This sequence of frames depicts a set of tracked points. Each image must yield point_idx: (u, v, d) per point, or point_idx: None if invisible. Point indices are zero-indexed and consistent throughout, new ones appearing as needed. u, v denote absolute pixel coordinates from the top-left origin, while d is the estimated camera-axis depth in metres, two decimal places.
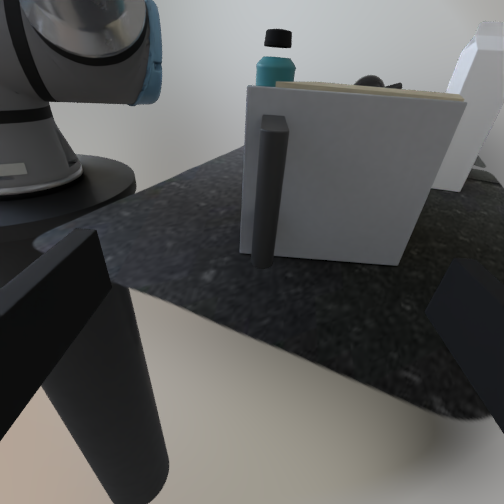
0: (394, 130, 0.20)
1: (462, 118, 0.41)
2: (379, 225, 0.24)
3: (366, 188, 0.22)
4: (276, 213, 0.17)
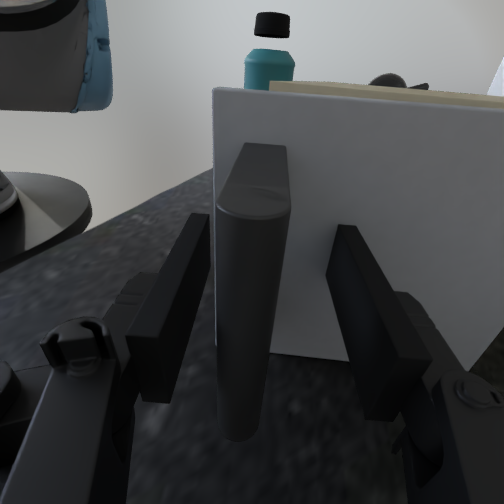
0: (500, 174, 0.10)
1: None
2: (443, 321, 0.14)
3: (430, 268, 0.13)
4: (261, 366, 0.08)
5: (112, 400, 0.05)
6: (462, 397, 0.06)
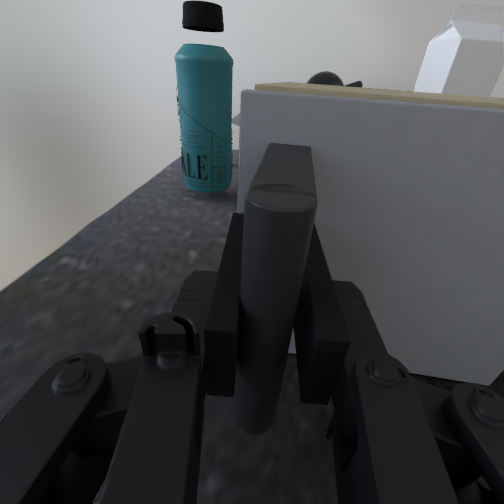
0: None
1: None
2: (467, 329, 0.14)
3: (454, 273, 0.13)
4: (281, 359, 0.08)
5: (197, 397, 0.06)
6: (372, 377, 0.06)
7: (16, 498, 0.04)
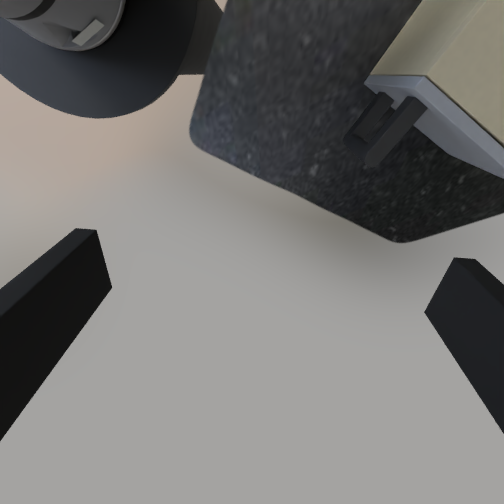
0: (485, 158, 0.26)
1: None
2: (449, 147, 0.33)
3: (453, 144, 0.30)
4: None
5: None
6: None
7: None
